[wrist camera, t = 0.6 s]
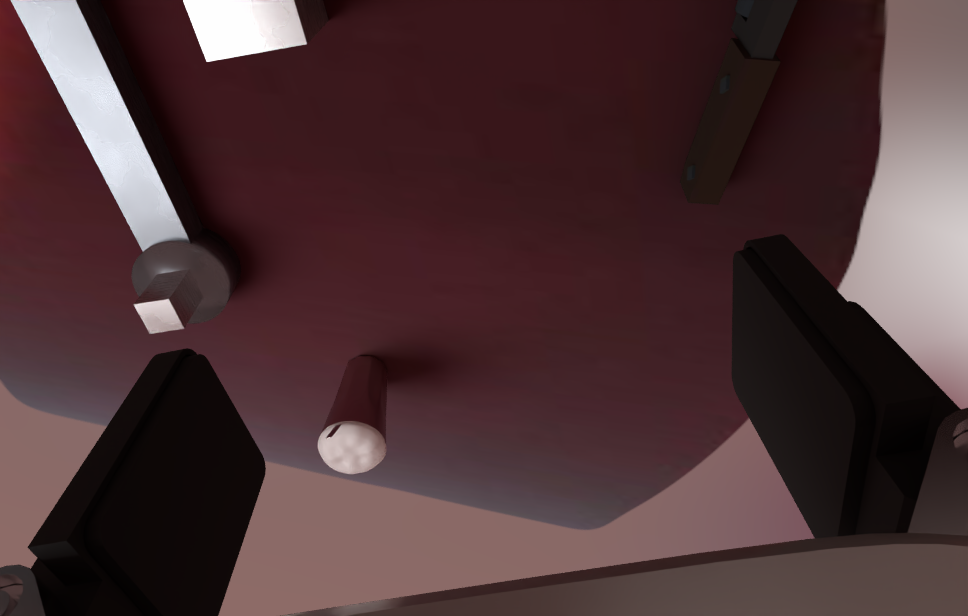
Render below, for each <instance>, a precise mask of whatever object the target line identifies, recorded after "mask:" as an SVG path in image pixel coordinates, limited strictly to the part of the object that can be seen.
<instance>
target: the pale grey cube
mask: <svg viewBox="0 0 968 616" xmlns="http://www.w3.org/2000/svg"><path fill="white" fill-rule="evenodd" d="M183 1H184V4H185V7H186V9H187V12H188V14H189V17H190V19H191V22H192V25H193V27H194V30H195V32H196V35H197V38H198V40H199V43H200V45H201V48H202V50H203V53H204V56H205V58H206V61H207V62H208V61H214V60H220V59H225V58H231V57H237V56H242V55H248V54H254V53H259V52H265V51H270V50H276V49H282V48H287V47H293V46H299V45H304V44H307V43H308V42H309V41H310V40H311V39H312V38H313V37H314V36H315V35H316V34H317V33H318V32H319V31H320V30H321V28H322V27H323V26H324V25H325V24H326V23H327V22H328V21H329V20H328V17H327V13H326V9H325V6H324V2H323V0H183Z"/></svg>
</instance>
